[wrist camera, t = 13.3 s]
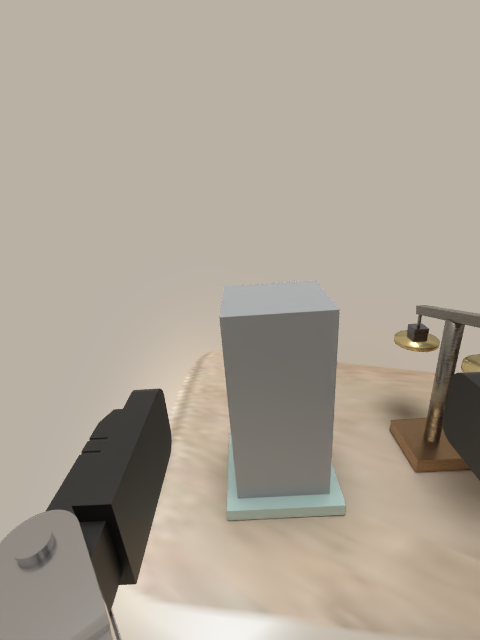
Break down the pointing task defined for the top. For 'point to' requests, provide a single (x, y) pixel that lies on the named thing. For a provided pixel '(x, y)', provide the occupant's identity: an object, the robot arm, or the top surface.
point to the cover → (280, 386)
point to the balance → (434, 390)
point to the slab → (282, 501)
